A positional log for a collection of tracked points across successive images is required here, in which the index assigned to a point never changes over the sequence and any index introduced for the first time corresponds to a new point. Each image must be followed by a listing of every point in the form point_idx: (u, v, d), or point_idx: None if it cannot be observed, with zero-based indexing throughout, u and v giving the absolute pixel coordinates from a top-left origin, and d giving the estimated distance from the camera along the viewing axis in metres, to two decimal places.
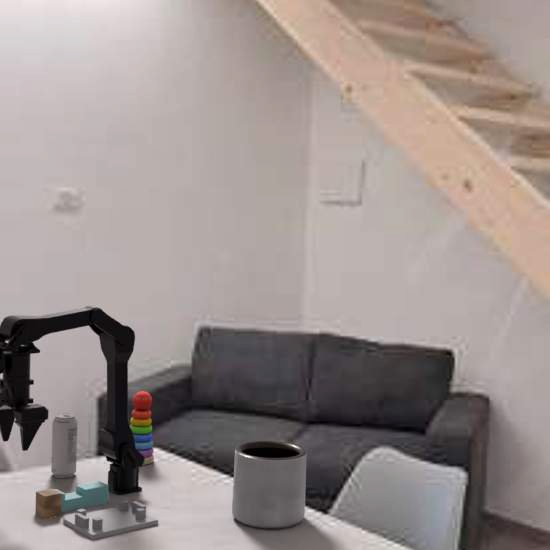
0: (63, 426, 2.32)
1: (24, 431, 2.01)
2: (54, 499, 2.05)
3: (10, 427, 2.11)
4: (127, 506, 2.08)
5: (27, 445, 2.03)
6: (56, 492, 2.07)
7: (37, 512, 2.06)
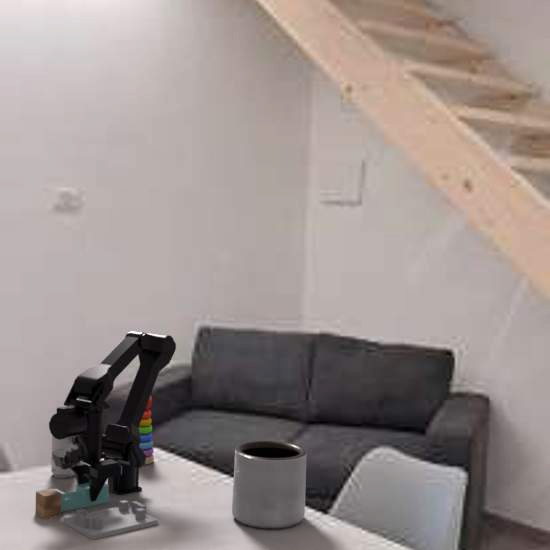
0: None
1: (93, 483, 2.12)
2: (54, 499, 2.05)
3: (87, 482, 2.18)
4: (127, 506, 2.08)
5: (95, 496, 2.14)
6: (56, 492, 2.07)
7: (37, 512, 2.06)
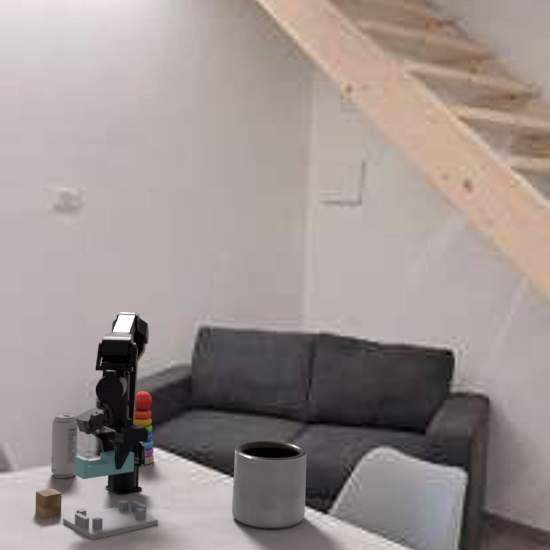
0: (63, 426, 2.32)
1: (118, 450, 2.01)
2: (54, 499, 2.05)
3: (113, 450, 2.07)
4: (127, 506, 2.08)
5: (121, 464, 2.03)
6: (56, 492, 2.07)
7: (37, 512, 2.06)
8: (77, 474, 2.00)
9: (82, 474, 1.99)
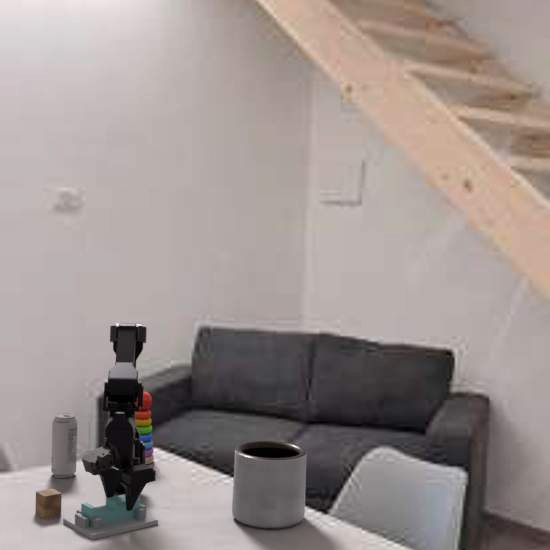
0: (63, 426, 2.32)
1: (129, 492, 1.99)
2: (54, 499, 2.05)
3: (114, 486, 2.07)
4: None
5: (131, 505, 2.01)
6: (56, 492, 2.07)
7: (37, 512, 2.06)
8: None
9: (89, 522, 1.98)
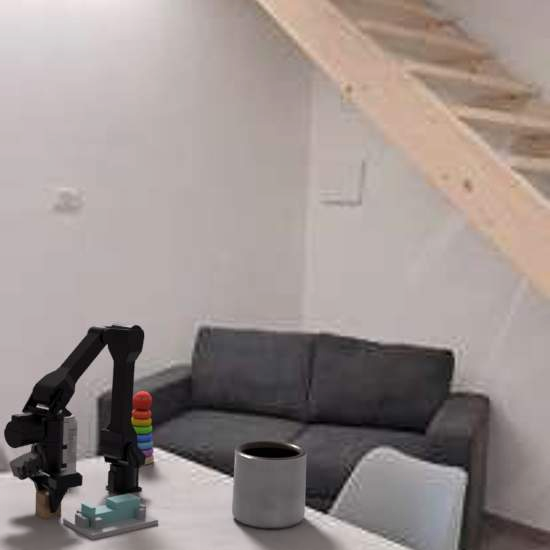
0: None
1: (53, 494, 2.03)
2: None
3: None
4: None
5: (55, 507, 2.05)
6: None
7: (37, 512, 2.06)
8: None
9: (89, 522, 1.98)
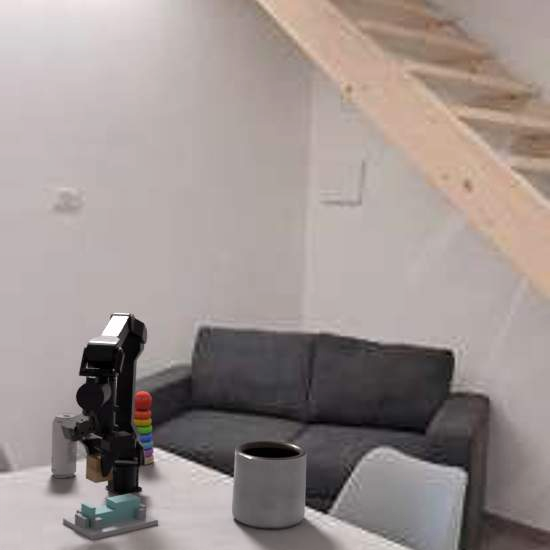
0: None
1: (105, 457, 1.97)
2: None
3: None
4: None
5: (107, 471, 1.98)
6: None
7: (88, 476, 2.00)
8: None
9: (89, 522, 1.98)
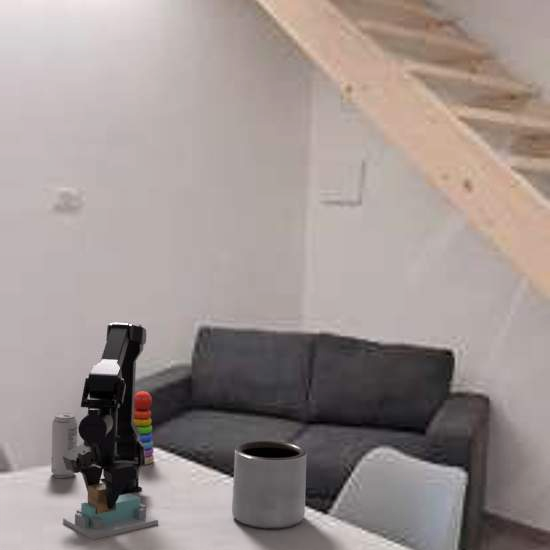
0: (63, 426, 2.32)
1: (110, 489, 1.96)
2: None
3: None
4: None
5: (112, 503, 1.98)
6: None
7: None
8: None
9: (89, 522, 1.98)
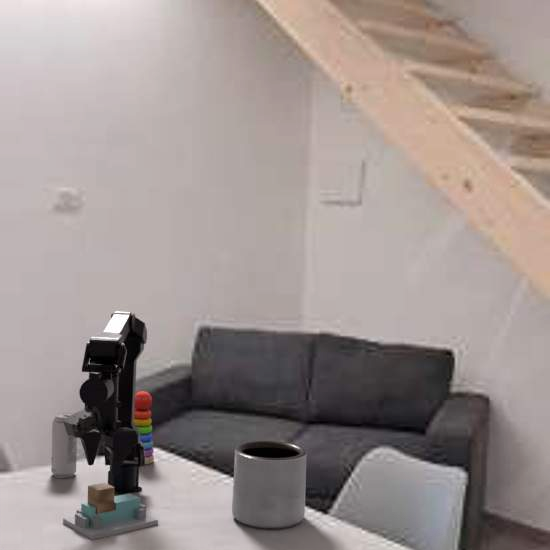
0: (63, 426, 2.32)
1: (114, 456, 1.95)
2: (107, 493, 1.99)
3: (95, 450, 2.04)
4: None
5: (116, 470, 1.96)
6: (109, 486, 2.01)
7: None
8: None
9: (89, 522, 1.98)
